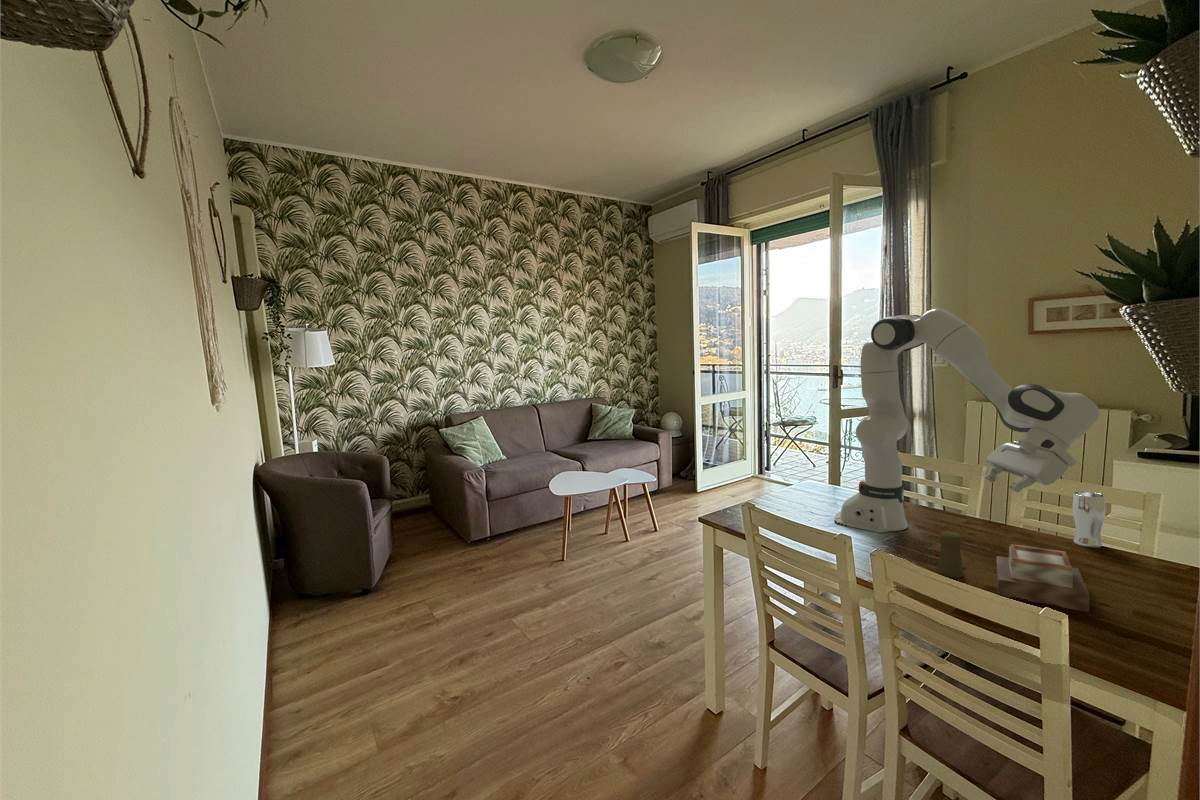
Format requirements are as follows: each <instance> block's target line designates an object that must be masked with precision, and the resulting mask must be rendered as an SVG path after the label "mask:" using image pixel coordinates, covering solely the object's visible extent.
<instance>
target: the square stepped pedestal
mask: <svg viewBox="0 0 1200 800" xmlns="http://www.w3.org/2000/svg"><path fill="white" fill-rule="evenodd" d="M1008 547H1009V548H1008V557H1006V556H1000V555H999V556H998V555H996V558H995V559H996V563H995V565H996V569H995V571H996V584H998V585H997V595H998V594H999V595H998V596H1000V595H1002V596H1001V597H1006V598H1010V599H1011V598H1012V597H1009V596H1006V595H1012V596H1013V595H1014V596H1016V597H1020V598H1022V599H1027V600H1028V601H1029V602H1032V603H1039V604H1043V603H1049V604H1055V605H1058V606H1060V607H1059V608H1064V609H1069V610H1075V611H1080V612H1084V613H1085V612H1086V613H1090V593H1089V591H1088V589H1087V586H1086V584H1085V582H1084V580H1083V577H1082V574H1081V572H1080V570H1079V568H1078V567H1072V565H1071V562H1070V559H1069V557H1068V554H1067V552H1066V551H1064V550H1057V549H1049V548H1048V549H1047V548H1043V547H1034V546H1029V545H1028V546H1027V545H1020V544H1014V543H1013V544H1012V543H1010V544H1009V546H1008ZM1004 594H1006V595H1004ZM1012 599H1013V598H1012ZM1022 599H1021V600H1022ZM1027 600H1026V601H1027ZM1058 606H1057V607H1058Z"/></svg>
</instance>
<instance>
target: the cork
mask: <svg viewBox="0 0 1200 800" xmlns="http://www.w3.org/2000/svg"><path fill="white" fill-rule="evenodd" d="M938 542H939V543H940V548H939V555H938V559H937V560H938V562H937V565H936V572H937V573H939V574H940V575H942V576H946V577H950V578H958V577H957V576H962V575H964V574H965V572H964V568H963V560H962V554H961V548H960V547H961V546H962V543H963V537H962V536H961V535H960V534H959V533H957V532H954V531H942V532H940V533H939V534H938ZM962 577H963V576H962Z"/></svg>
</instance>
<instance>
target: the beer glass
mask: <svg viewBox="0 0 1200 800" xmlns="http://www.w3.org/2000/svg"><path fill="white" fill-rule="evenodd" d="M1106 507H1107V506H1106V496H1105V495H1104V494H1102V493H1099V492H1095V491H1085V490H1084V491H1083V490H1081V491H1080V490H1079V491H1077V490H1076V491H1074V492H1073V498H1072V507H1071V508H1072V516H1073V521H1074V526H1075V533H1074V537H1073V542H1074V544H1077V545H1079V546H1082V547H1085V548H1086V547H1087V548H1095V549H1097V548H1101V547H1103V542H1102V536H1101V532H1102V528H1103V525H1104V521H1105V518H1106ZM1082 542H1083V543H1082Z"/></svg>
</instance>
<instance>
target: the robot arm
mask: <svg viewBox="0 0 1200 800" xmlns="http://www.w3.org/2000/svg"><path fill="white" fill-rule="evenodd" d="M870 337H871V338H870V339H871V340H868V341H867V342H865V343H864V344H863V346H862V347H861V348H862V349H861V352H860V380H861V384H860V385H861V395H862V398H863V399H864V400H865V403H866V406H867V410H868V413H869V415H867V416H865V417H863V418H862V420H860V422H859V423H858V424H857V426H856V428H855V436H856V438H857V440H858V442H859V443H860V446H861V451H862V455H863V460H864V479H863V480H860V481H859V482H858V492H857V493H856V494H854V495H852V496H850V497H849V498H847V499H846V500H845V501H844V502H843V503H842V506H841V511H838V512H837V513H835V515H834V517H833V518H834V519H835V521H836V522H838V523H840V524H839V525H841V524H843V525H842V526H845V525H847V526H846V527H850V528H855V529H860V530H866V531H870V532H875V533H879V534H883V533H887V532H896V531H897V532H898V531H899V532H900V531H903V530H906V529H907V528H908V523H907V519H906V516H905V509H904V501H905V490H904V485H903V468H902V467H903V462H902V459H900V457H899V452H898V448H897V441H899V440H901V439H902V438H903V437H904V436H905V435H906V433H907V431H908V430H909V420H908V418H907V417H906V414H905V409H904V406H903V403H902V402H903V401H902V399H901V392H900V381H899V380H900V379H899V378H900V377H899V365H898V359H899V355H900V353H901V352H908V351H911V350H912V349H916V348H918V347H921V346H923V345H924V344H925V345H927V346H928V347H929V348H931V349H932V350H933V351H934V352H935V353H936V354H937V355H938V356H939V357H941V358H942V360H944V361H945V362H947V363H948V364H949V365H950V366H951V367H953V368H955V370H957V371H958V373H960V374H961V375H962V376H964V377H965V378H966V379H967V380H968V381H969V382H970V384H971V385H973V386H974V388H976V389H977V390H978V392H979V393H980V394H982V396H984V398H986V399H987V400H988V401H989V402H990V403H991V405H993V407H994V408H995V409H996V411H997V413H998V417H999V418H1000V421H1001V422H1002V424H1003V425H1004V426H1005V427H1006V428H1007V429H1009V430H1011V431H1014V432H1018V433H1025V434H1023V435H1022V437H1020V439H1018V441H1016V440H1013V441H1011V442H1006V443H1003V444H1001V445H1000V446H998V447H996V449H995V450H993V451H992V452H991V453H989V454H988V455H987V457H986V458H985V463H987V464H988V465H989V466H990V467H989V471H988V474H986V475H985V476H984V480H986V481H987V482H988V483H991V484H993V483H994V482H995V481H996V480H997V475H998V474H1000V473H1002V472H1004V473H1007V474H1010V475H1012V476H1013V475H1014V476H1016V477H1020V478H1022V479H1020V480H1018V481H1017V482H1014V481H1013V482H1012V484H1011V485H1009V489H1011V491H1012V492H1015V493H1020V492H1021V491H1022V490H1023V489H1025V488H1028V487H1030V486H1033V485H1034V484H1035V483H1037V484H1041V485H1044V486H1048V485H1051V484H1054V483H1055V482H1056V481H1058V480H1059V479H1060V478H1061V477H1063V475H1064V474H1065V473H1066V472H1067V471H1068V469H1069V467H1072V466H1074V465H1075V464H1076V463H1077V461H1078V460H1077V459H1076V458H1075V457H1074V456H1073V455H1072V454H1071V453H1070V452H1068V450H1069V449H1070V448H1071V445H1073V443H1074V442H1075V441H1077V440H1079V439H1081V438H1082V437H1083V436H1084V435H1085V434H1086V433H1087V432H1088V431H1089V430H1090V429H1091V428H1092V427H1093V426H1094V424H1096V422H1097V420H1098V418H1099V417H1100V414H1101V412H1100V408H1099V406H1098V405H1097V403H1096V402H1095V401H1094V400H1093V399H1091V398H1090V397H1089V396H1087V395H1085V394H1082V393H1080V392H1064V391H1063V392H1062V391H1058V390H1053V389H1050V388H1046V387H1044V386H1042V385H1039V384H1035V383H1024V384H1019V385H1017V386H1016V387H1014V388H1012V387H1011V386H1010V385H1009V384H1008V383H1007V382H1006V381H1005V380H1004V379H1003V378H1002V377H1001V376H1000V375H999V374H997V373H996V371H995V370H994V368H993V367H992V364H991V361H990V357H989V353H988V347H987V343H986V341H985V340H984V338H983V337H982V336H981V335H980V333H979V332H977V331H976V329H974V328H973V327H972V326H971V325H970V324H968V323H967V322H966V321H965V320H963V319H962V318H960V317H958V316H957V315H955V314H953V313H952V312H950V311H948V310H946V309H944V308H938V307H935V308H932V309H930V310H928V311H926V312H924V313H923V314H922V315H920V314H919V315H918V314H899V315H894V316H892V315H891V316H887V317H884V318H881V319H880V320H878V321H877V322H875V324H874V325H873V326H872V328H871V331H870ZM834 519H833V520H834ZM835 521H834V522H835Z"/></svg>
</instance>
